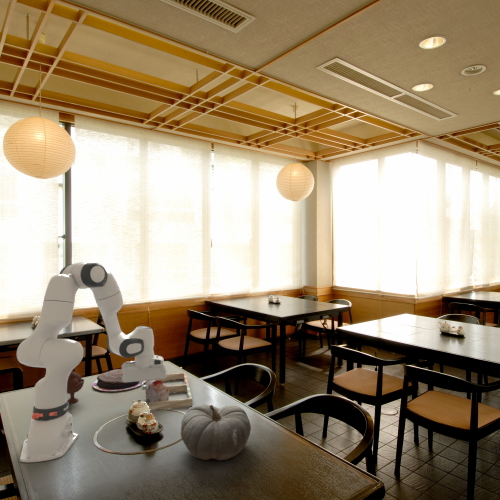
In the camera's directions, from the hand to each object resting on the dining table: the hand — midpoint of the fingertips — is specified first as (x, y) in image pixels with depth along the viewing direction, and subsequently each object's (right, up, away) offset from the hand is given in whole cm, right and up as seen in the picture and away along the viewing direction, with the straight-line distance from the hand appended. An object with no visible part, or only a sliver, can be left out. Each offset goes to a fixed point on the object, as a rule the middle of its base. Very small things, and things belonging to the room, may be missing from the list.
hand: (144, 389), depth 185 cm
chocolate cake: (-21, -7, +27) cm, 35 cm away
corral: (+9, -6, +12) cm, 16 cm away
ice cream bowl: (-35, -7, +2) cm, 36 cm away
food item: (+5, -6, +1) cm, 8 cm away
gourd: (+38, -6, -44) cm, 58 cm away
